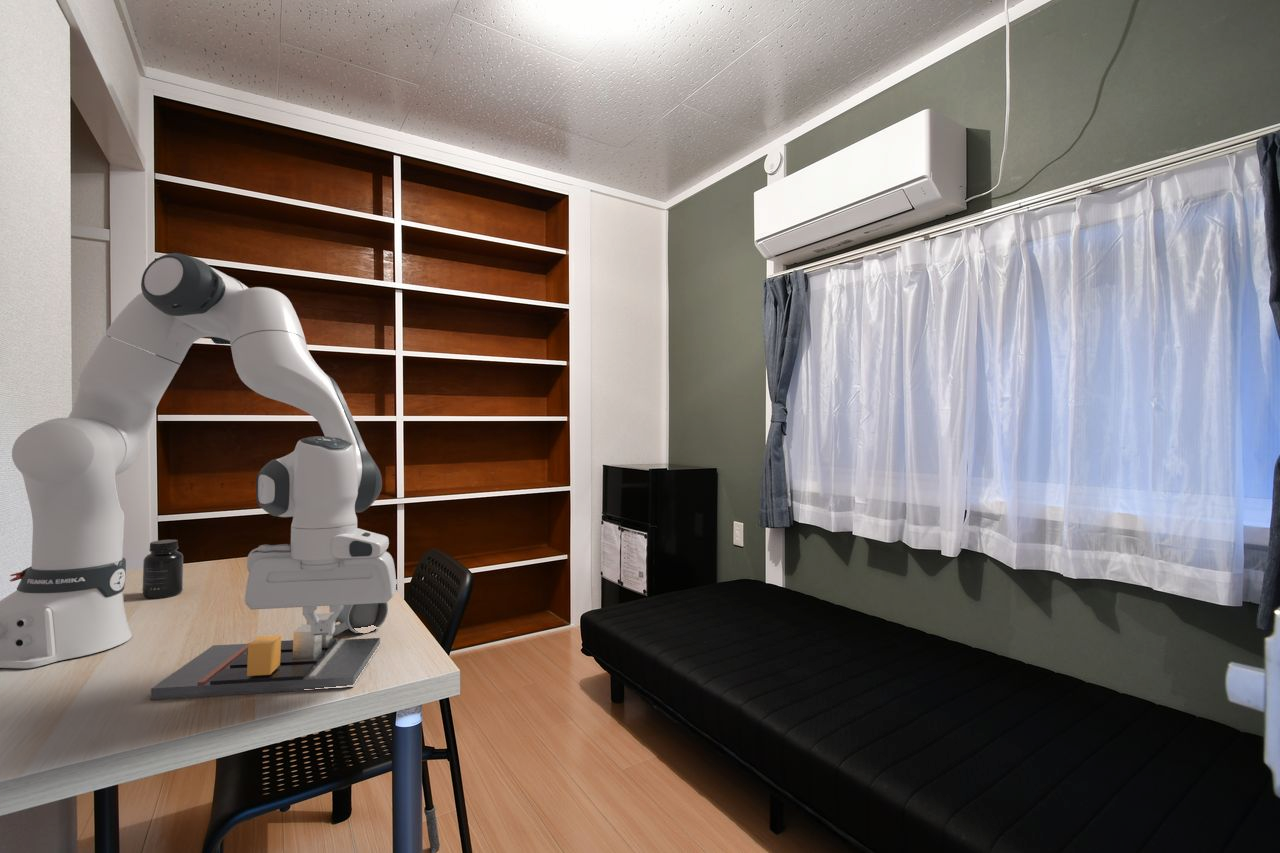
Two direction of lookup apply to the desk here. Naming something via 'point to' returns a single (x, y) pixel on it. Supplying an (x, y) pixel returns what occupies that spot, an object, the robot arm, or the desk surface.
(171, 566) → the supplement bottle
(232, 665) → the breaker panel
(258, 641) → the toggle
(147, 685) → the desk surface
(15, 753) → the desk surface
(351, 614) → the ceramic mug
